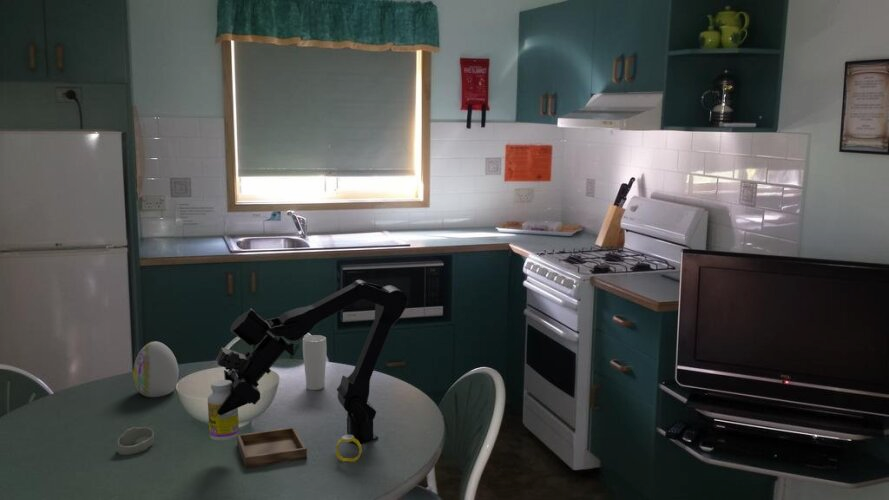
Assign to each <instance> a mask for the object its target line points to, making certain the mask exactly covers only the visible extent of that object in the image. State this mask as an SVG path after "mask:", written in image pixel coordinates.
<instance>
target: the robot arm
mask: <svg viewBox="0 0 889 500" xmlns="http://www.w3.org/2000/svg"><path fill="white" fill-rule="evenodd" d="M361 300H365V301H369V302H370V303H374V304H375V305H374V319H373V322H372V325H371V326H370V329H369V332H368V335H367V337H366V339H365V342H364V345H363V347H362V348H361V351H360V355H359V357H358V358H357V362H356V363H355V367H354V369H353V370H352V373H350V375H348V376H346V375H342V377H341V381H340V384H339V385H338V387H337V388H336V391H337V399H338V402H339V403H340V405H341V406H342V407H343V409H344V410H345V412H347V413H346V414H347V417H346V435H353V436H354V438H355V439H357V440H358V441H359V442H360V444H361V445H364V444H366V443H369V442H372V441H374V440H377V439H379V436H378V435H377V434H374V420H375V417H376V415H377V411H376V409H375V408H374V407H373V405H372V404H371V403H370V402H369V401H368V400H369V396H370V383H371V378H372V376H373V374H374V370H375V368H376V365H378V364H377V363H378V361H379V358H380V356H381V354H382V351H383V348H384V346H385V343H386V342H387V339H388V336H389V334H390V331H391V329H392V326H393V325H394V324H395V323H396V322H398V321H399V319H400V318H401V317H402V315H403V314H404V312H405V310H406V309H407V306H408V303H409V301H408V300H409V299H408V298H407V294H405V292H403V291H402V290H400V289H399V288H397V287H396V286H394V285H391V284H389V285H385V286H382V285H378V284H375V283H370V282H367V281H365V280H362V279H357V280H354V281H353V282H352V283H350V284H349V285H347V286H345V287H343V288H342V289H339V290H338V291H337V290H336V291H335V292H334V293H331V294H330V295H327V296H325V297H324V298H322V299H320V300H318V301H316V302H314V303H313V304H310V305H306V306H302V307H301V306H300V307H296V308H294V309H291V310H288V311H285V312H283V313H281V314H280V315H279V316H276V317H273V318H269V319H263V318H262V317H261V316H260V315H258V313H257V312H256V311H255V310H254V309H252V308H249V309H248V310H247V311H246V312H244V313H242V314H241V315H239V316H238V317H237V318H236V319H235V320H234V321H233V322H232V324H231V326H230V329H229V330H230V332H231V333H233V334H234V335H235V336H236V337H238V339H240V340H241V341H242V342H244V343H245V344H247V345H248V347H249V346H252V345H253V346H255V347H254V349H253V350H252V351H251V350H250V349H249V350H247V351H246V352H245V353H244V354H243V353H241V352H240V353H239V352H238V351H234V350H233V349H228V348H226V347H221V348H220V351H219V353H218V354H217V356H216V360H215V361H216V362H217V365H218V366H220V367H223V368H224V369H223V373H224V375H223V376H224V380H230V381H232V385H231V384H230V393H229V395H228V396H227V398H226V399H225V401H224V402H223V404H222V405H221V407H220V408H219V410H218V411H217V413H218V414H219V415H223V414H225V413H227V412H229V411H232V410H234V409H236V408H238V409H239V408H241V407H243V406H245V405H246V406H247V405H248V404H249V405H250V404H252V405H256V404H257V403H258V402H259V400H261V392H260V390H259V388H258V386H259V381H260V380H261V379H262V378H263V377H264V375H265V374H267V375H269V374H270V373H271V371H272V369H271V368H272V366H273V365H274V364H275V363H276V362H277V361H278V359H279V358H281V356H282V355H284V353H286V352H287V353H288V354H289V355H291V356H294V355H295V350H294V346H295V344H294V342H296V341H298V340H301V339H303V338H304V337H305V336H306V335H307V334H308V333H310V332H311V331H312V330H313V329H314V328H315V327H316V326H317V325H318V324H319V323H321V322H322V321H323V320H325V319H328V318H329V317H331V316H333V315H335V314H337V313H338V312H339V313H340V312H341V311H342V310H345V309H347V308H349V307H350V306H352V305H353V304H356V303H357V302H360V301H361ZM287 340H288V341H287ZM350 443H352V444H354V445H357V444H356V443H355V442H353V441H351V442H350Z"/></svg>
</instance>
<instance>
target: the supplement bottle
mask: <svg viewBox="0 0 889 500" xmlns="http://www.w3.org/2000/svg"><path fill="white" fill-rule="evenodd" d="M230 384H231V385H232V381H230V380H225V379H219V380H216V381H213V382H211V384H210V389H211V391H212V392H211V393H210V394H209V395H208V396H207V411H208V412H207V413H208V432H209V438H211V439H212V440H215V441H227V440H233V439H234V438H237V435H240V427H239V426H240V424H239V407H238V408H236V409H234V410H232V411H229V412H227V413H225V414H223V415H219V414H218V413H217V411H218V410H219V408H220V407H221V405H222V404H223V402H224V401H225V399H226V398H227V396H228V395H229V393H230Z"/></svg>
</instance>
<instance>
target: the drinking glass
mask: <svg viewBox="0 0 889 500" xmlns="http://www.w3.org/2000/svg"><path fill="white" fill-rule="evenodd" d="M302 354H303V355H302V356H303V365H304V366H303V367H304V373H305V385H306V386H305V387H306V388H307V390H310V391H319V390H322V389H324V388H325V386H326V385H325V384H326V382H325V378H326V376H325V375H326V367H327V366H326V365H327V364H326V362H327V337H326V336H324V335H320V334H317V335H316V334H313V335H312V334H311V335H307V336H306V335H305V336H303V337H302Z"/></svg>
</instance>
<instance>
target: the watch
mask: <svg viewBox="0 0 889 500" xmlns="http://www.w3.org/2000/svg"><path fill="white" fill-rule="evenodd" d="M351 441H353V442H355V443H356V444H355V445H357V446H358V450H359V452H358V455H356V456H355V457H354V458H352V457H351V458H349V457H343V456H342V455H341V454H340V453H339V450H338V449H339V445H340V443H342V442H344V443H352V442H351ZM362 451H363V449H362V444H360V442H359V441H358V440H357V439H355V438H354V436H353V435H347V434H344V435H342V437H341V438H340V439H339V440H338V441H337V443H336V445H335V455H336V458H337V459H338V460H339V461H341V462H343V463H344V462H345V463H346V462H353V463H355V462H356V461H358V460H359V459H360V457H361V456H362V455H361V454H362Z"/></svg>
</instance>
